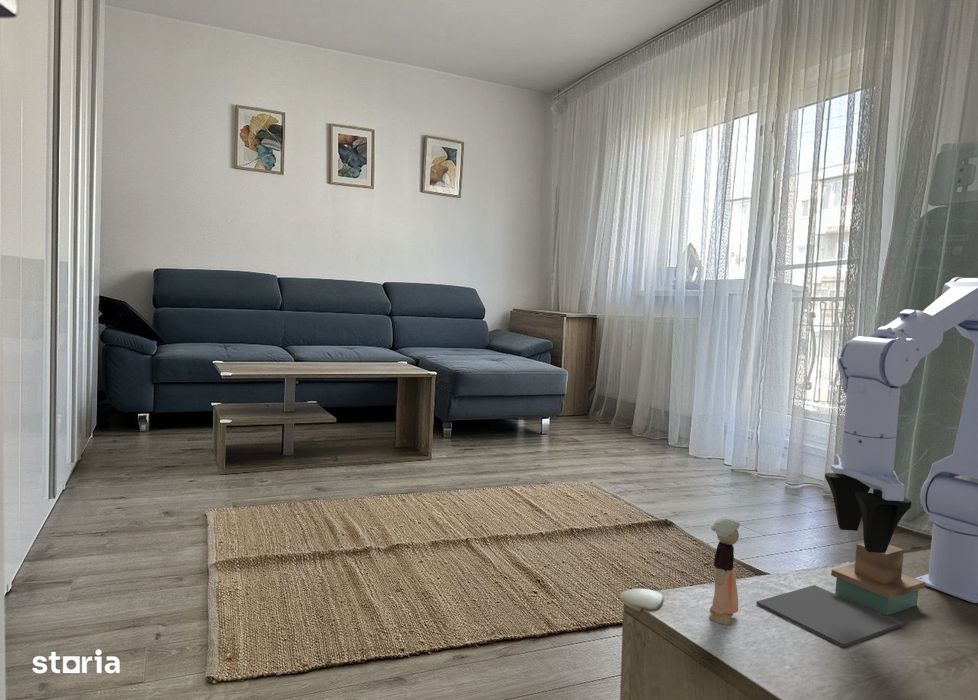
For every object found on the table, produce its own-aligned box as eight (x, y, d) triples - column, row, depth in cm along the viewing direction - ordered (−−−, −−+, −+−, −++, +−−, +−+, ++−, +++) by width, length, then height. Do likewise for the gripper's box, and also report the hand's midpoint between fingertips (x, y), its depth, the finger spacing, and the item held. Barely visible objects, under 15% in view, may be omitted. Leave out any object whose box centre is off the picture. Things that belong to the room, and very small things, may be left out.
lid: (865, 565, 96) (868, 533, 96) (924, 587, 90) (927, 552, 89) (831, 575, 92) (833, 541, 92) (890, 599, 86) (893, 562, 85)
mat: (814, 587, 94) (814, 585, 94) (902, 626, 84) (902, 622, 84) (756, 604, 88) (756, 601, 88) (843, 647, 78) (843, 644, 78)
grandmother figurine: (742, 631, 81) (750, 527, 80) (709, 626, 82) (716, 524, 81) (733, 603, 88) (739, 508, 87) (702, 599, 89) (708, 505, 88)
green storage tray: (865, 584, 96) (866, 567, 96) (916, 605, 90) (918, 586, 90) (835, 593, 92) (836, 576, 92) (886, 615, 86) (888, 596, 86)
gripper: (813, 421, 91) (806, 518, 93) (862, 444, 77) (853, 560, 78) (868, 423, 91) (860, 522, 92) (927, 448, 76) (917, 564, 77)
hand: (861, 540), depth 85 cm, fingers open, 7 cm apart
